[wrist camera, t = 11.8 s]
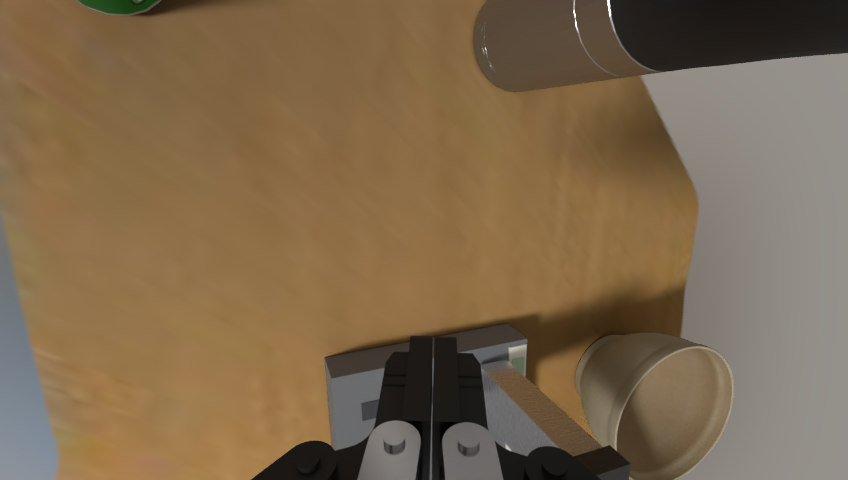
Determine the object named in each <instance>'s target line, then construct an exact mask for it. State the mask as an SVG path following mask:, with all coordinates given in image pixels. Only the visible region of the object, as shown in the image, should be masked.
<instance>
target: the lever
mask: <svg viewBox="0 0 848 480" xmlns="http://www.w3.org/2000/svg"><path fill="white" fill-rule="evenodd" d="M481 373H482V381H483V390H484V399H485V407H486V416H487V421H488V422H489V423H490V425H491V426H492V427H493V428H494V430H495V431H496V432H497V433H498V435H499V436H500V437H501V438H502V440H503V441H504V442H505V443H506V444H507V446H508V447H509V448H510V449H511V451H512V452H515V453H518V454H521V455H525V456H528V454H529V453H530V452H531V451H532V450H534V449H536V448H539V447H543V446H551V447H556V448H560V449H562V450H564V451H566V452H568V453H569V454H571V455H572V456H573V457H574V458H576V459H577V460H578V461H579V462H580V463H582V464H583V465H584V466H585V467H586V468H588V469H589V470H590V471H591V472H593V473H594V474H595V475H596V476H597V477H599V478H600V479H601V480H629V476H630V467H631V463H629V462H628V461H627V460H626V459H625V458H624V457H623V456H621V455H620V454H619V453H618V452H617V451H616V450H615V449H614V448H612V447H611V446H610V445H608V446H605V447H602V446H601V445H600V444H599V443H598V442H597V441H596V440H595V439H594V438H592V437H591V436H590V435H589V434H588V433H587V432H586V431H585V430H584V429H582V428H581V427H580V426H579V425H578V424H577V423H576V422H575V421H574V420H572V419H571V418H570V417H569V416H568V415H567V414H566V413H565V412H564V411H563V410H561V409H560V408H559V407H558V406H557V405H556V404H555V403H554V402H553V401H551V400H550V399H549V398H548V397H547V396H546V395H545V394H544V393H543V392H541V391H540V390H539V389H538V388H537V387H536V386H535V385H534V384H533V383H532V382H530V381H529V380H528V379H527V378H526V377H525V376H524V375H523V374H522V373H520V372H519V371H518V370H517V369H516V368H515V367H514V366H513V365H512V364H510V363H509V362H508V361H507V360H501V361H496V362H492V363H487V364H482V365H481Z"/></svg>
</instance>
